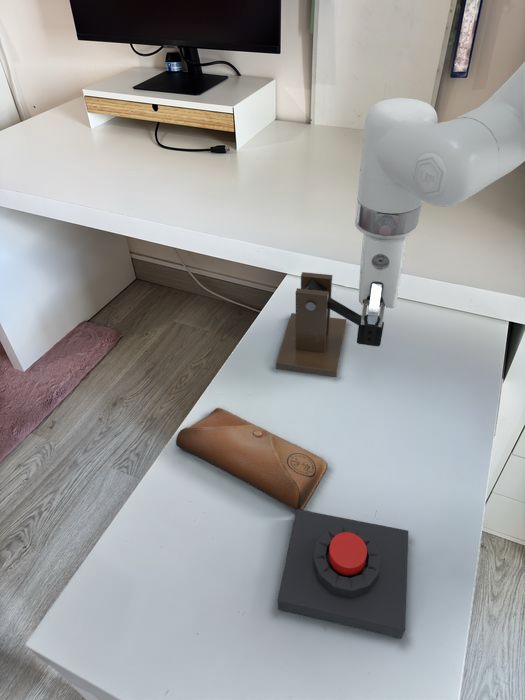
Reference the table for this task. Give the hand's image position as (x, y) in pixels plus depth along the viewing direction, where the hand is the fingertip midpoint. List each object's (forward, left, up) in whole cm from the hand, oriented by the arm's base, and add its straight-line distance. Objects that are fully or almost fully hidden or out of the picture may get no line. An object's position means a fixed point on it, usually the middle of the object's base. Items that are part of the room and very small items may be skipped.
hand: (371, 321), depth 73 cm
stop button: (-1, +34, -2) cm, 34 cm away
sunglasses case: (+12, +22, -6) cm, 26 cm away
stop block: (-1, +34, -6) cm, 35 cm away
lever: (+5, 0, +1) cm, 5 cm away
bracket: (+8, 0, -6) cm, 10 cm away
